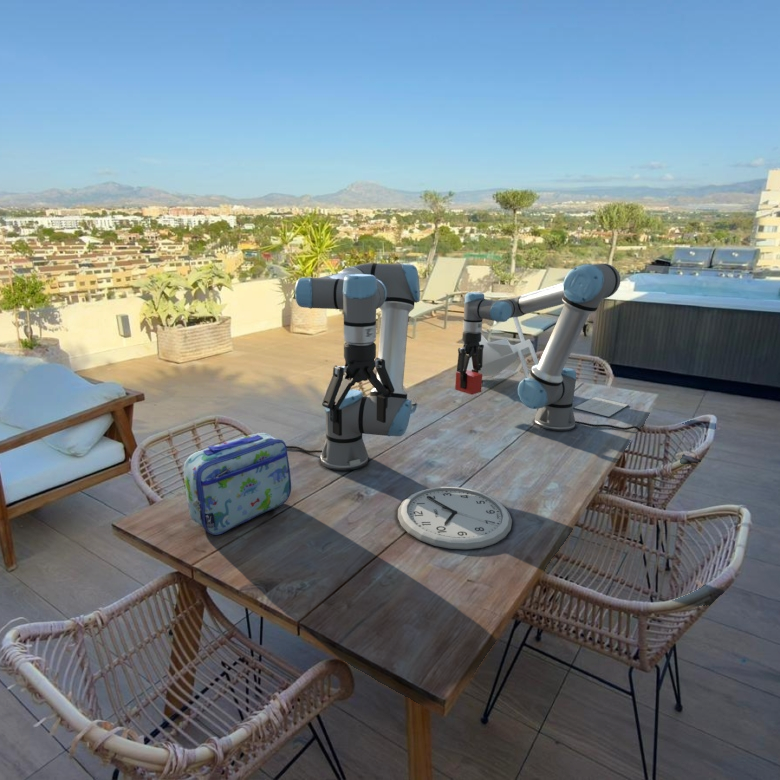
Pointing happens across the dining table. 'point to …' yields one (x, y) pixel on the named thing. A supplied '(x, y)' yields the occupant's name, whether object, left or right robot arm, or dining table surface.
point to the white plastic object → (504, 354)
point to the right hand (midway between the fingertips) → (468, 386)
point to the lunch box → (236, 481)
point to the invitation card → (601, 406)
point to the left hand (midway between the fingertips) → (359, 427)
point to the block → (470, 382)
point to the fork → (414, 401)
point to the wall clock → (454, 518)
